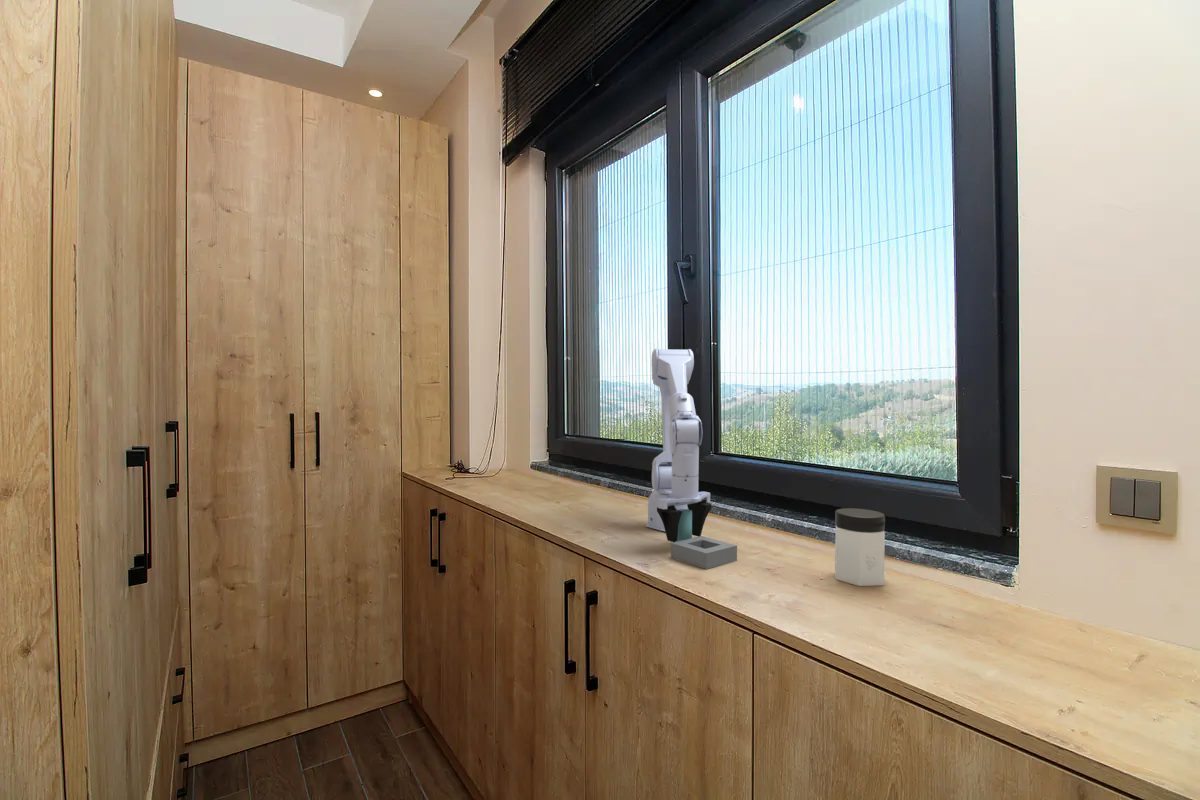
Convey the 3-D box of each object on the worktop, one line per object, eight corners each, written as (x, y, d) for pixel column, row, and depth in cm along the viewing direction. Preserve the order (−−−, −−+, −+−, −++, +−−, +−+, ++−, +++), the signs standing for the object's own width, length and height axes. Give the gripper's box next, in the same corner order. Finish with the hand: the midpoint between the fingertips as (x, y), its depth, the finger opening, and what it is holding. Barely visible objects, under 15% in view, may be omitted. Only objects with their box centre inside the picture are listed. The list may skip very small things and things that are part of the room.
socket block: (671, 557, 114) (671, 542, 114) (701, 550, 120) (701, 535, 119) (706, 569, 107) (706, 553, 107) (736, 560, 112) (737, 545, 112)
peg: (673, 547, 121) (674, 510, 121) (683, 544, 123) (684, 508, 123) (684, 550, 119) (685, 512, 119) (694, 548, 121) (695, 510, 121)
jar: (848, 587, 97) (849, 518, 97) (823, 572, 105) (824, 508, 105) (896, 585, 98) (897, 517, 98) (868, 571, 106) (869, 507, 106)
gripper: (675, 480, 113) (674, 548, 113) (721, 474, 122) (720, 536, 123) (650, 476, 119) (649, 540, 119) (696, 470, 128) (696, 530, 128)
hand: (684, 538), depth 121 cm, fingers open, 7 cm apart
